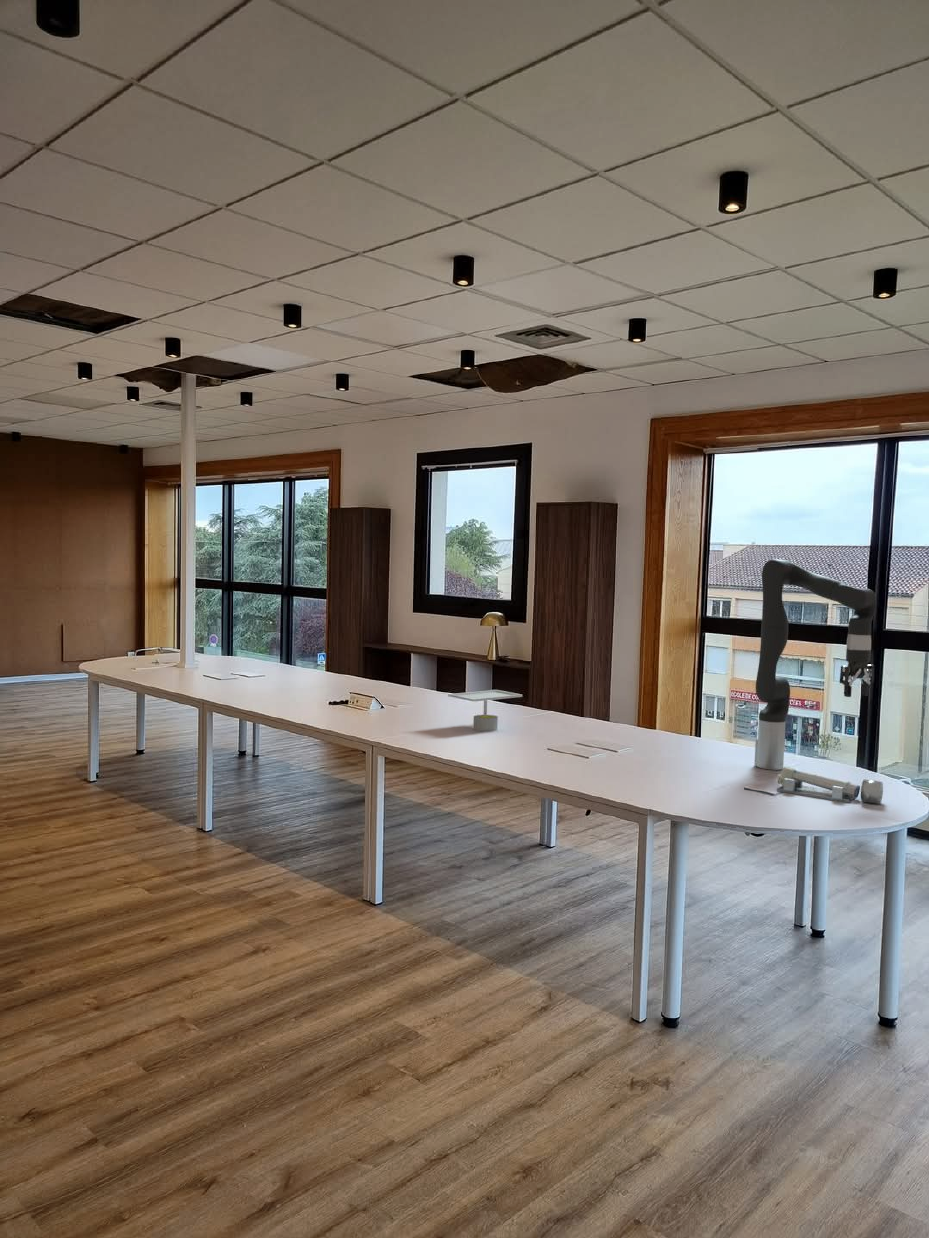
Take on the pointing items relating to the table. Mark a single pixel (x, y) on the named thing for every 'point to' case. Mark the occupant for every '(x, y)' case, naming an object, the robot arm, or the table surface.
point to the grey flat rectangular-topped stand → (485, 707)
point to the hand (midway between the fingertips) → (856, 696)
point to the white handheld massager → (818, 781)
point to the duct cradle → (836, 791)
